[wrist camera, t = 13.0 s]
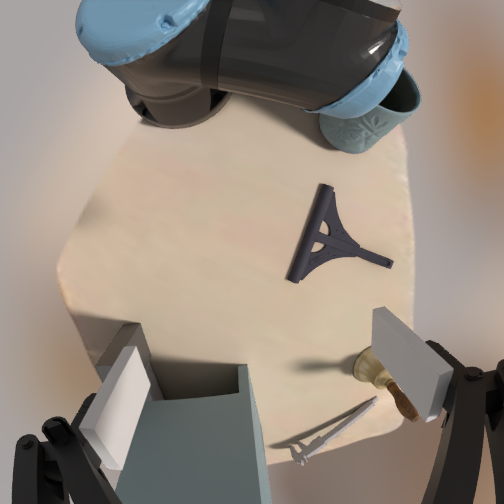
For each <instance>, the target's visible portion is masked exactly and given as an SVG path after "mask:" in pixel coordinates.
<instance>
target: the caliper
mask: <svg viewBox="0 0 504 504" xmlns="http://www.w3.org/2000/svg"><path fill="white" fill-rule="evenodd" d="M376 401H378V397H377V396H376V397H374V398H373V399H372V400H370V401H368V402H367V403H365V404H364V405H362V406H361V407H360V408H359V409H358V410H356V411H355V412H354V413H353V414H352V415H350V416H349V417H348V418H347V419H345V420H344V421H343V422H341V423H340V424H339V425H338V426H336V427H335V428H334V429H332V430H331V431H330V432H328V433H327V434H325V435H324V436H323V437H320V436H318V437H317V438H316V439H314V440H312V442H311V443H310V444H309V445H308V446H306V445H304V444H303V443H301V442H300V441H299V442H297V443H298V445H299V447H300V448H301V449H302V451H301V452H300V453H298V452H297V451H296V450H295V448H294V447H293V446H292V445H291V446H290V450H291V454H292V457H293V459H294V460H295V461H296V463H298V464H299V463H300V464H301V465H304V462H303V460H304V461H305V462H308V461H307V460H306V457H308V458H309V457H310V456H312V455H313V454H315V453H316V452H318V451H319V450H321V449H322V448H323V447H325V446H326V445H327V444H326V443H328V442H329V441H330V440H332V439H333V438H335V437H336V436H337V435H339V434H340V433H341V432H343V431H344V430H345V429H347V428H348V427H349V426H350V425H352V424H353V423H354V422H355V421H357V420H358V419H359V418H360V417H362V416H363V415H364V414H365V413H366V412H368V411H369V410H370V409H371V408H372V407H373V406H375V404H374V403H375V402H376Z"/></svg>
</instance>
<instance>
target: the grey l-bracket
mask: <svg viewBox="0 0 504 504" xmlns="http://www.w3.org/2000/svg"><path fill="white" fill-rule="evenodd" d="M127 346H136V347H137V350H138V352H139V355H140V358H141V361H142V363H143V366H144V369H145V371H146V374H147V377H148V379H149V382H150V384H151V385H150V388H149V391H148V394H147V397H146V399H145V401H162V400H165V399H164V397H163V394H162V392H161V390H160V387H159V385H158V382H157V380H156V377H155V375H154V372H153V370H152V367H151V365H150V362H149V360H150V358H151V353H150V350H149V347H148V345H147V342H146V339H145V336H144V333H143V330H142V327H141V324H140V323H137V324H128V325H123V326H122V328H121V329H120V331H119V332H118V334H117V335H116V336H115V338H114V339H113V341H112V342H111V344H110V345H109V347H108V348H107V349H106V351H105V352H104V354H103V355H102V357H101V358H100V360H99V361H98V363H97V364H96V366H95V367H96V370H97V372H98V374H99V376H100V378H101V380H102V382H104V380H105V379H106V377H107V375H108V373H109V372H110V370H111V368H112V366H113V365H114V363H115V361H116V360H117V358H118V356H119V355H120V353H121V351H122V349H123V348H124V347H127Z"/></svg>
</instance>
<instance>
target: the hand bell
mask: <svg viewBox="0 0 504 504" xmlns="http://www.w3.org/2000/svg"><path fill="white" fill-rule="evenodd" d="M354 375H355V377H356V378H357V379H358V380H359V381H362V382H371V383H372V384H373V385H374V386H375V387H376V388H378V389H385V388H387V389H388V391H389V392H390V393H391V394H392V395H393V397H394V399H395V403H396V406H397V408H398V410H399V411H400V413H401V414H402V415H403V416H404V417H406V418H408V419H409V420H411V421H412V422H416V421H417V420H418V419H419V414H418V411H417V410H416V408H415V407H414V406H413V404H412V403H411V402H410V400H409V399H408V398H407V396H406V395H405V394H404V393H403V392H402V391H401V390H400V389H399V387H398V386H397V384H396V382H395V381H394V379H393V378H392V377H391V375H390V374H389V373H388V372H387V370H386V369H385V368H384V366H383V365H382V364H381V362H380V361H379V360H378V359H377V357H376V356H375V355H374V353H373V352H372V351H371V347H369V348H367V349H366V350H365V351H363V352H362V353H361V355H360V356H359V357H358V358H357V360H356V362H355V364H354Z"/></svg>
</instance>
